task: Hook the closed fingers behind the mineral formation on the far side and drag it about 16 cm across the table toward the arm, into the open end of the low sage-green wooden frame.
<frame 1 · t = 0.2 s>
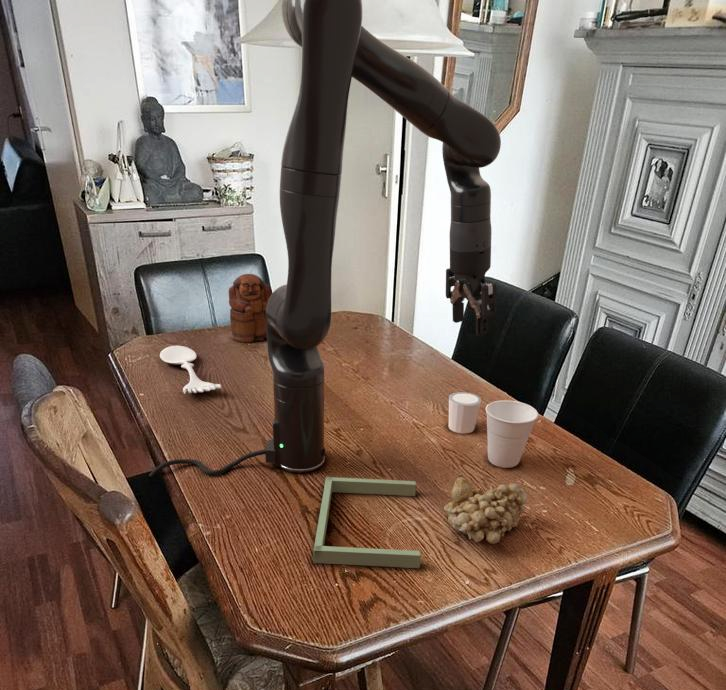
hand: (469, 328, 124), 22 cm above the table, tool pointing down, fingers open, 8 cm apart
frame: (372, 525, 105), on the table
wooden figurine: (253, 339, 181), on the table
mineral formation: (476, 531, 105), on the table
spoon: (188, 376, 156), on the table
shot glass: (461, 428, 137), on the table
cup: (503, 461, 125), on the table
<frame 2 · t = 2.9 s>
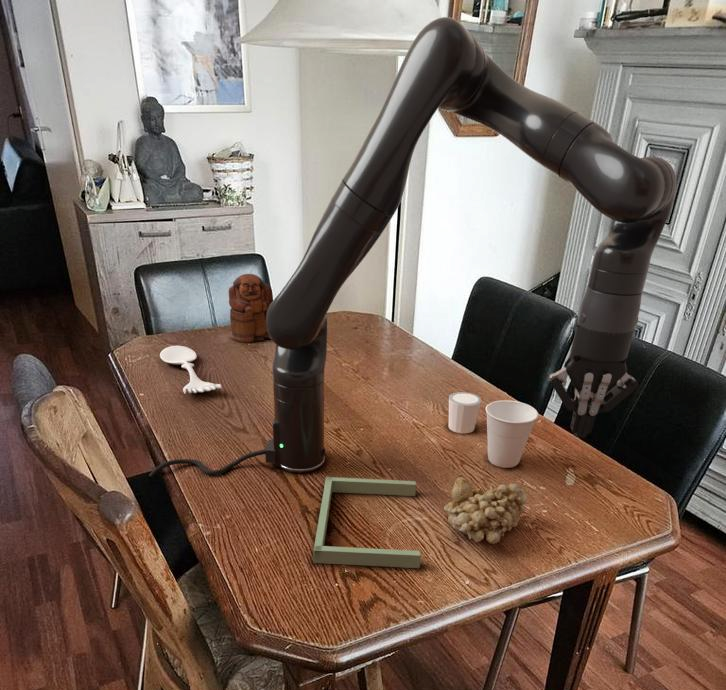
hand: (579, 434, 95), 19 cm above the table, tool pointing down, fingers closed
nothing on the table moved.
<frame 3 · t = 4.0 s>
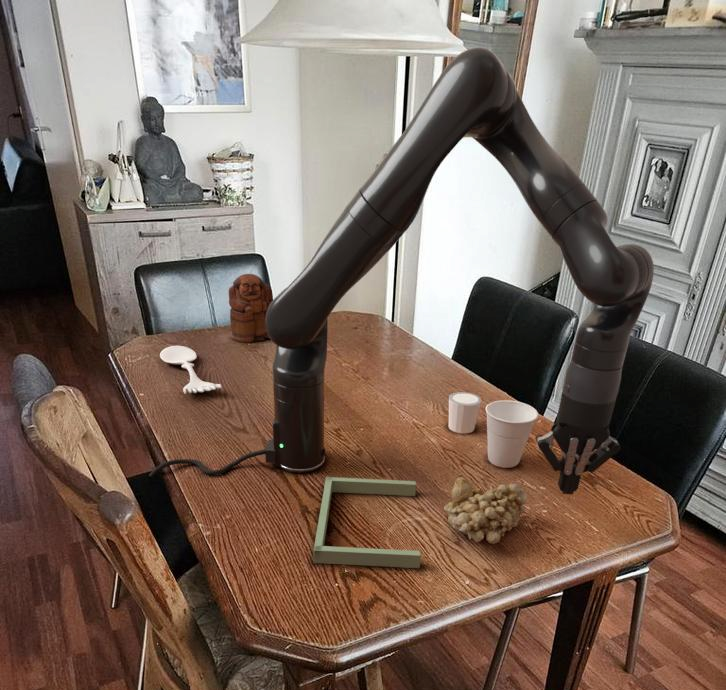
hand: (566, 491, 100), 8 cm above the table, tool pointing down, fingers closed
nothing on the table moved.
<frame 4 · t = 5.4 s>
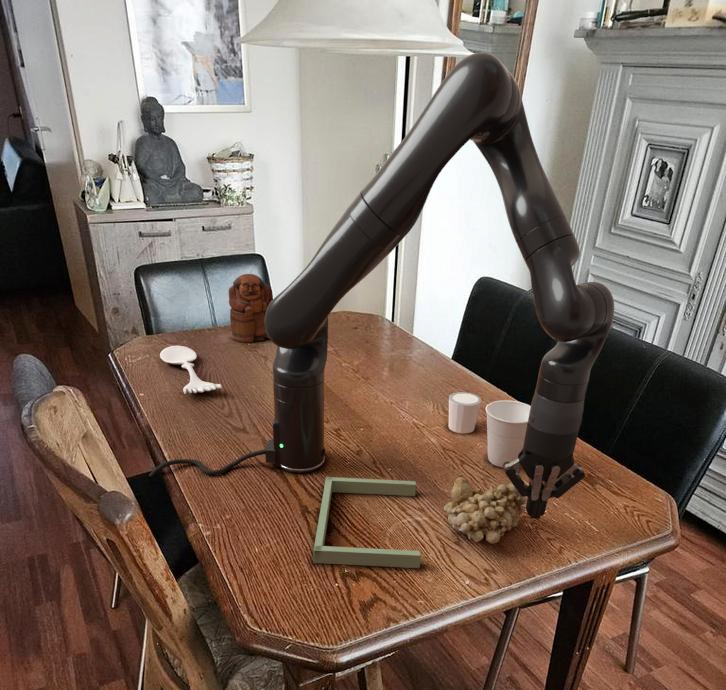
hand: (533, 515, 103), 3 cm above the table, tool pointing down, fingers closed
mineral formation: (476, 531, 105), on the table, touching gripper
everything else where it was.
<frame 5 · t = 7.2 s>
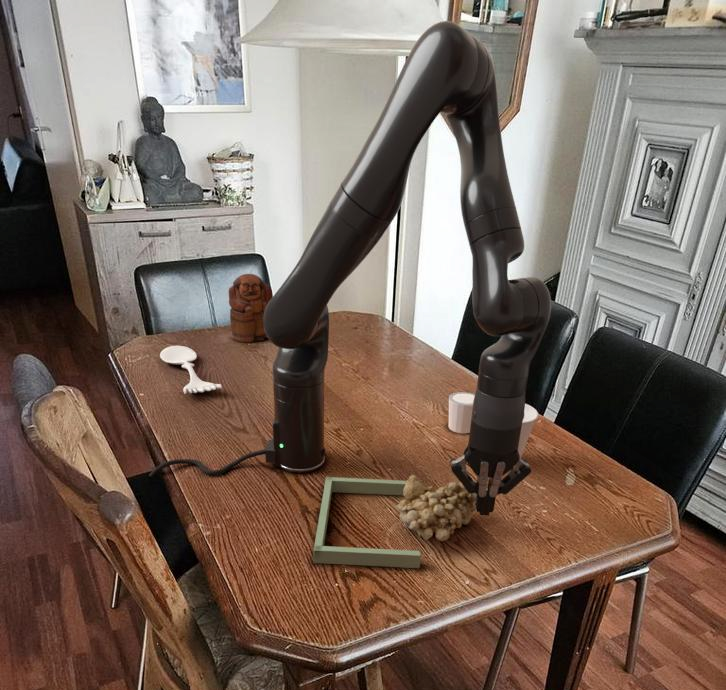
hand: (483, 512, 103), 4 cm above the table, tool pointing down, fingers closed
mineral formation: (428, 528, 105), on the table, touching gripper
everything else where it was.
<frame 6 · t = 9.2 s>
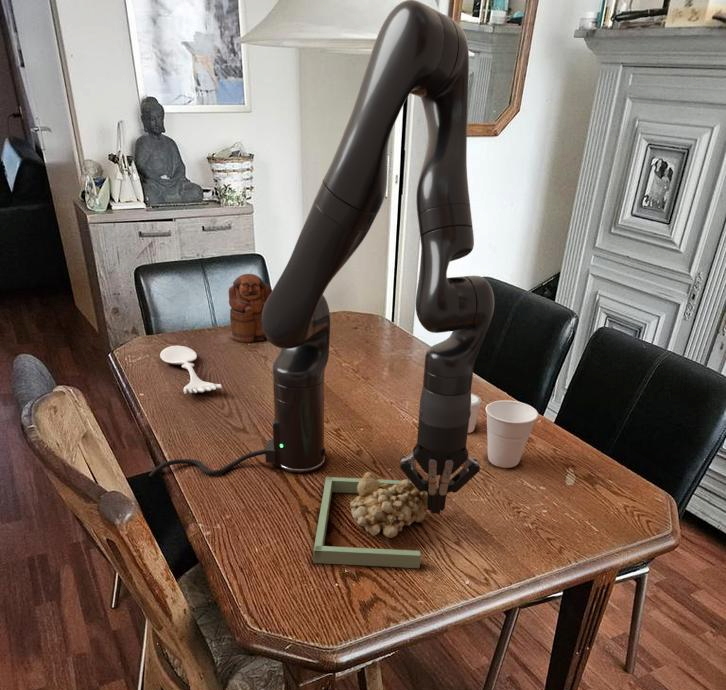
hand: (434, 510, 103), 4 cm above the table, tool pointing down, fingers closed
mineral formation: (381, 525, 105), on the table, touching gripper
everything else where it was.
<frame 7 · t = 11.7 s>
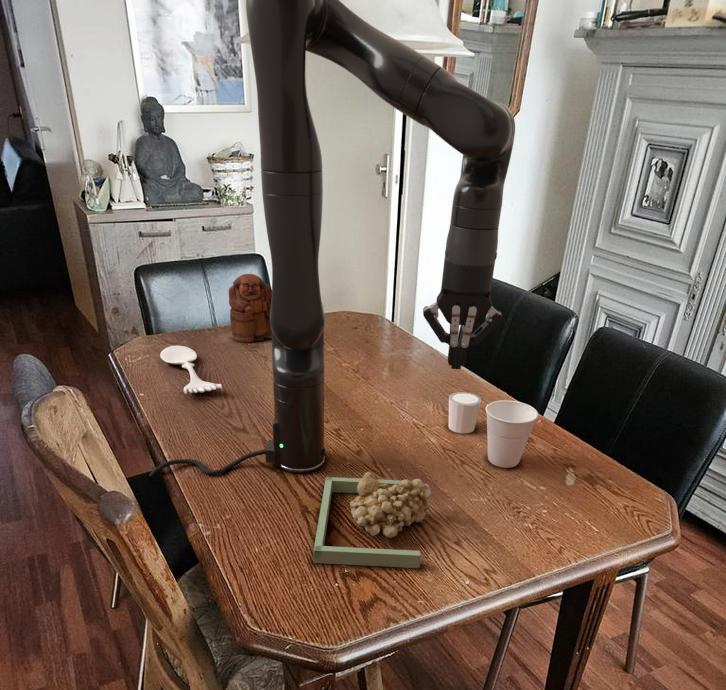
hand: (455, 367, 103), 24 cm above the table, tool pointing down, fingers closed
mineral formation: (381, 525, 105), on the table
everything else where it was.
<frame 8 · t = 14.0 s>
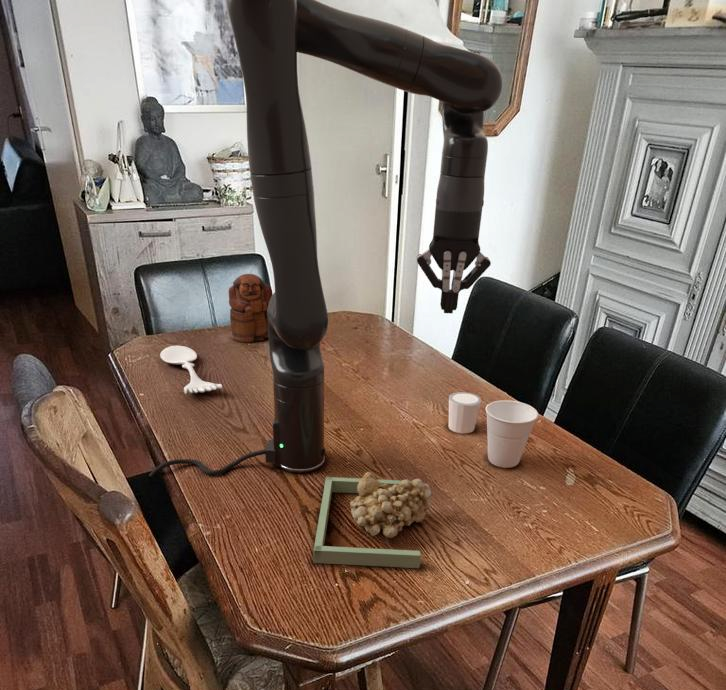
hand: (447, 312, 111), 29 cm above the table, tool pointing down, fingers closed
nothing on the table moved.
at the end: mineral formation inside the target area on the frame (1.5 cm from its centre), point 0.0 cm above the frame's base; mineral formation moved 16.0 cm from its start; mineral formation tilted 2° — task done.
